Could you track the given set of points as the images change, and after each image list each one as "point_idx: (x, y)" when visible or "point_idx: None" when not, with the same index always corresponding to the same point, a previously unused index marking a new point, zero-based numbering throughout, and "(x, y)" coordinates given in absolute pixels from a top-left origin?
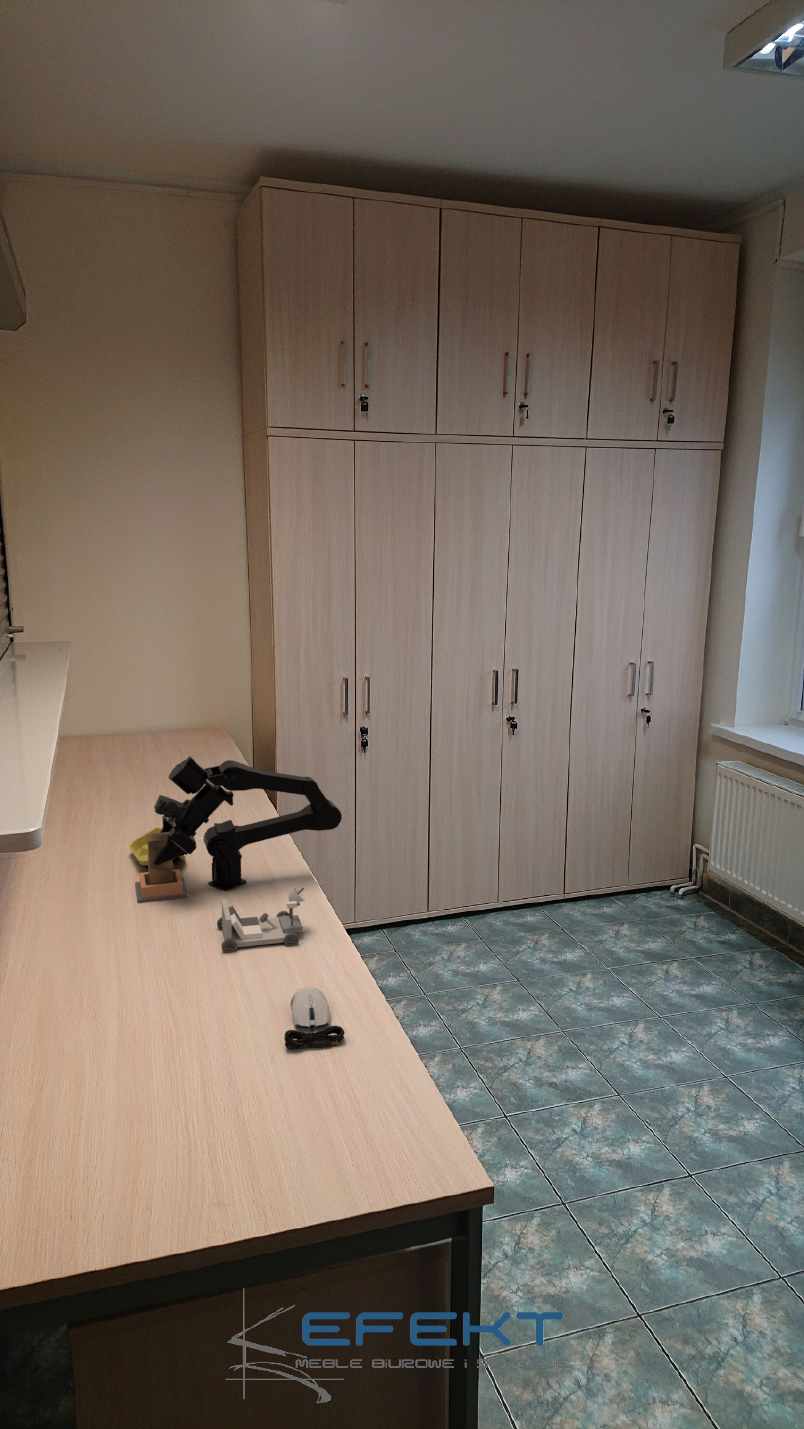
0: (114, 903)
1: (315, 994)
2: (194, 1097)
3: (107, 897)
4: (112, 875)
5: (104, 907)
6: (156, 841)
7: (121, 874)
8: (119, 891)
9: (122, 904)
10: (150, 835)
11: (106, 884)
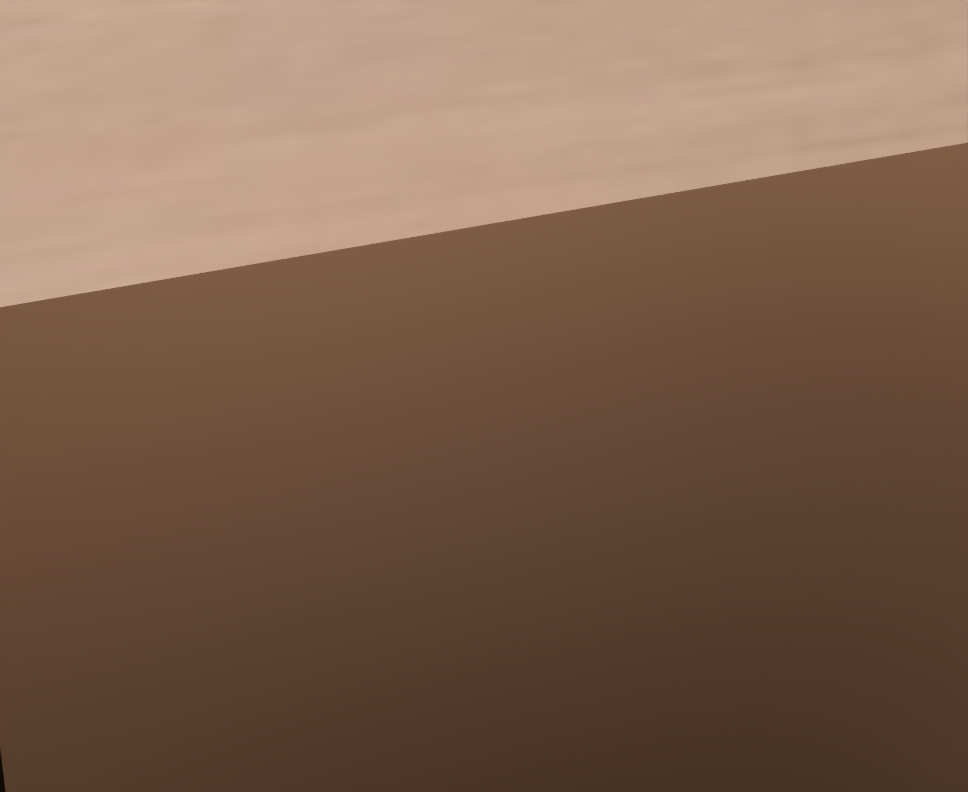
0: (146, 146)
1: None
2: None
3: (322, 59)
4: (898, 39)
5: (49, 62)
6: (17, 780)
7: (927, 119)
8: (476, 155)
9: (105, 231)
10: (916, 304)
11: (667, 11)
